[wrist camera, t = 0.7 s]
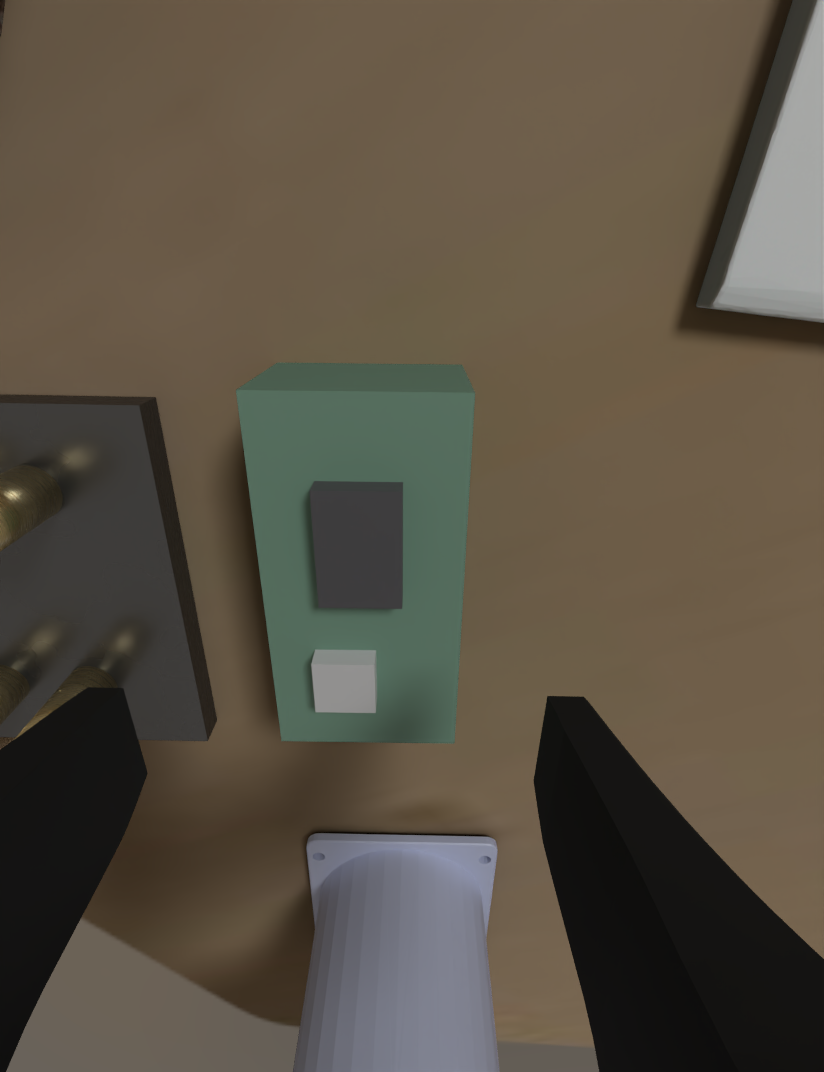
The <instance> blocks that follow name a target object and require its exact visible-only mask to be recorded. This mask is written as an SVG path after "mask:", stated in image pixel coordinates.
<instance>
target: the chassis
mask: <svg viewBox="0 0 824 1072" xmlns="http://www.w3.org/2000/svg"><path fill="white" fill-rule="evenodd" d="M87 687H97V688H123V689H124V692H125V696H126V699H127V703H128V706H129V710H130V713H131V717H132V720H133V724H134V727H135V731H136V734H137V738H138V740H182V741H208V739H209V737H210V735H211V733H212V730H213V728H214V726H215V724H216V721H217V718H216V713H215V707H214V702H213V697H212V691H211V686H210V681H209V676H208V670H207V665H206V660H205V655H204V649H203V644H202V639H201V633H200V628H199V623H198V618H197V612H196V607H195V602H194V597H193V591H192V586H191V581H190V576H189V570H188V565H187V560H186V554H185V549H184V544H183V539H182V533H181V528H180V523H179V518H178V512H177V507H176V502H175V497H174V491H173V486H172V481H171V475H170V470H169V465H168V460H167V454H166V449H165V444H164V439H163V433H162V428H161V423H160V418H159V412H158V407H157V402H156V397H109V396H53V395H0V737H16V738H17V737H19V736H20V735H21V734H23V733H24V732H25V731H27V730H28V729H30V728H31V727H32V726H34V725H35V724H36V723H38V722H39V721H40V720H42V719H43V718H45V717H46V716H47V715H49V714H50V713H51V712H53V711H54V710H56V709H57V708H58V707H60V706H61V705H63V704H64V703H65V702H67V701H68V700H70V699H71V698H73V697H74V696H76V695H77V694H78V693H80V692H81V691H83V690H84V689H86V688H87ZM16 738H15V739H16ZM15 739H14V740H15Z"/></svg>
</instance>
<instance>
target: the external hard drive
mask: <svg viewBox="0 0 824 1072" xmlns="http://www.w3.org/2000/svg"><path fill="white" fill-rule="evenodd" d="M696 306H697V307H699V308H708V309H717V310H725V311H733V312H740V313H748V314H756V315H762V316H772V317H781V318H789V319H798V320H806V321H814V322H821V323H824V0H793V1H792V5H791V8H790V11H789V14H788V17H787V20H786V23H785V26H784V30H783V33H782V36H781V39H780V42H779V45H778V49H777V52H776V55H775V58H774V61H773V65H772V68H771V71H770V74H769V77H768V80H767V83H766V86H765V90H764V93H763V96H762V99H761V102H760V105H759V108H758V112H757V115H756V118H755V121H754V124H753V128H752V131H751V134H750V137H749V140H748V143H747V147H746V150H745V153H744V156H743V159H742V162H741V165H740V168H739V172H738V175H737V178H736V181H735V184H734V187H733V190H732V194H731V197H730V200H729V203H728V206H727V209H726V213H725V216H724V219H723V222H722V225H721V228H720V231H719V234H718V238H717V241H716V244H715V247H714V250H713V253H712V256H711V259H710V263H709V266H708V269H707V272H706V275H705V278H704V281H703V284H702V288H701V291H700V294H699V297H698V300H697V303H696Z"/></svg>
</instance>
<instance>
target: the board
mask: <svg viewBox="0 0 824 1072" xmlns="http://www.w3.org/2000/svg"><path fill="white" fill-rule="evenodd" d="M236 394H237V402H238V410H239V417H240V425H241V433H242V440H243V448H244V456H245V463H246V471H247V479H248V486H249V494H250V502H251V510H252V517H253V525H254V533H255V540H256V548H257V556H258V563H259V571H260V579H261V586H262V594H263V602H264V609H265V617H266V625H267V633H268V640H269V648H270V656H271V663H272V671H273V679H274V686H275V694H276V702H277V709H278V717H279V725H280V732H281V740H282V741H316V742H387V743H454V741H455V724H456V707H457V691H458V674H459V657H460V640H461V623H462V606H463V589H464V572H465V555H466V538H467V521H468V504H469V487H470V470H471V453H472V436H473V419H474V402H475V392H474V389H473V387H472V385H471V383H470V381H469V379H468V377H467V374H466V372H465V370H464V368H463V366H462V365H437V364H347V363H276V364H275V365H273V366H272V367H270V368H269V369H267V370H266V371H264V372H263V373H261V374H260V375H258V376H256V377H255V378H253V379H252V380H250V381H249V382H247V383H246V384H244V385H243V386H241V387H240V388H238V389H237V390H236Z"/></svg>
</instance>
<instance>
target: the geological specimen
mask: <svg viewBox="0 0 824 1072" xmlns="http://www.w3.org/2000/svg"><path fill="white" fill-rule="evenodd" d="M4 6H5V0H0V35H1V32H2V24H3V15H4Z"/></svg>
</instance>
